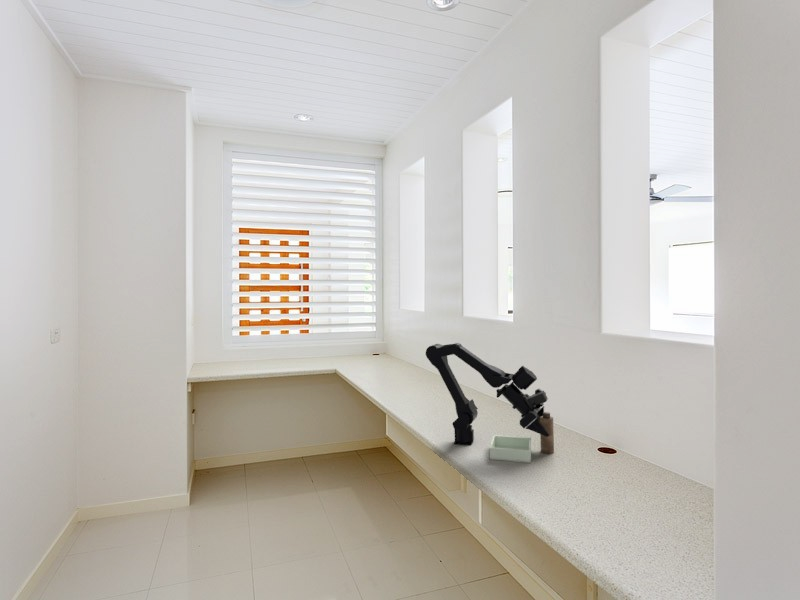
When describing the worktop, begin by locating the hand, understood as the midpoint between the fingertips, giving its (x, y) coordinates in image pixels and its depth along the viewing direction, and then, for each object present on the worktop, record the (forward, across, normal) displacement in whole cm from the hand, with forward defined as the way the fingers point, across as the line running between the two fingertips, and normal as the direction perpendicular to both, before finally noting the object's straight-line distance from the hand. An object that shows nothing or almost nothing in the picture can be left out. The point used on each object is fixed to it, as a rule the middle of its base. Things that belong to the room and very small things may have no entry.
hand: (550, 431), depth 159 cm
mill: (+4, 0, +6) cm, 7 cm away
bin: (-4, -7, +14) cm, 16 cm away
